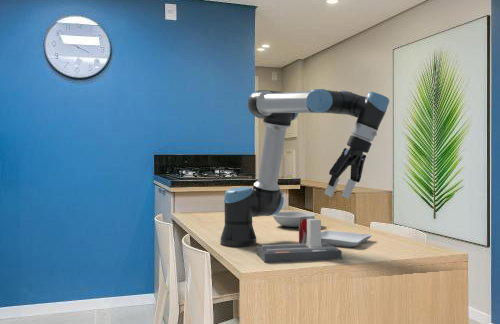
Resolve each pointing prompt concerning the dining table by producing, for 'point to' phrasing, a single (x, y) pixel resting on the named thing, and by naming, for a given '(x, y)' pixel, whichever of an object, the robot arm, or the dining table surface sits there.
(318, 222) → the tab
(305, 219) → the soda can
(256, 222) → the dining table surface
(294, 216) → the soup bowl
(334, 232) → the salad plate
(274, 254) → the switch board
